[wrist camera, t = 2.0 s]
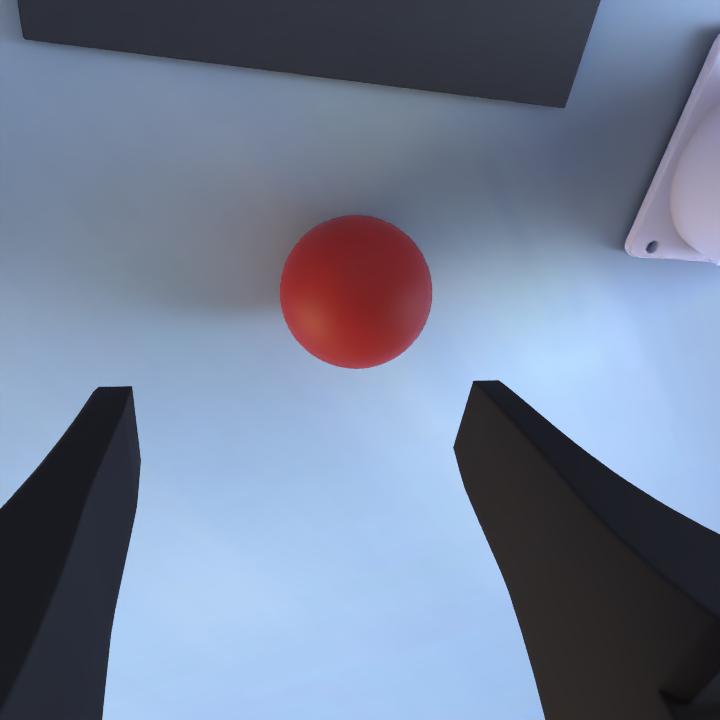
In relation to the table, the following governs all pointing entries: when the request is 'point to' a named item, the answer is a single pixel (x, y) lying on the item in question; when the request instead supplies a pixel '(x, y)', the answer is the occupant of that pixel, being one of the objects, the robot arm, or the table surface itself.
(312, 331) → the ball
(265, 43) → the mat
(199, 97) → the table surface
